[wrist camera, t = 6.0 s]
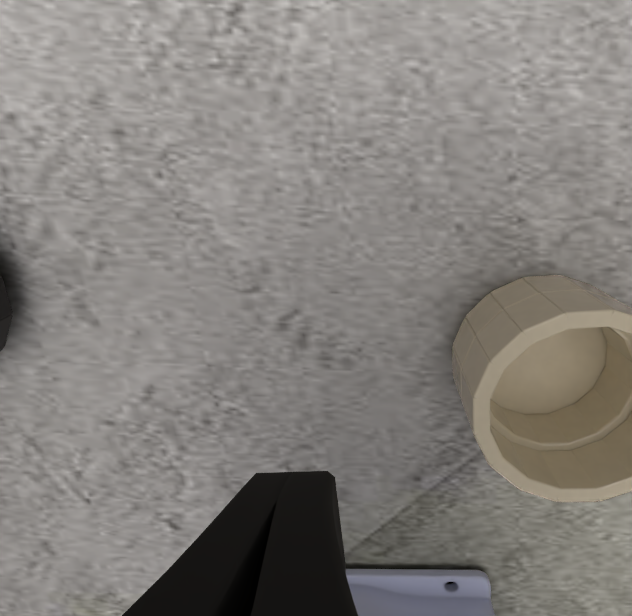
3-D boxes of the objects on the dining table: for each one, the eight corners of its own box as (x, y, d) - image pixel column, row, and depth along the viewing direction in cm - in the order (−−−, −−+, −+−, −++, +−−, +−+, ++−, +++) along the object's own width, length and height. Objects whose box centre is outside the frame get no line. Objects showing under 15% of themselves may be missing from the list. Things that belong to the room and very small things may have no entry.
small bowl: (626, 265, 15) (715, 303, 11) (614, 420, 17) (688, 501, 13) (447, 277, 16) (471, 318, 12) (451, 425, 18) (473, 503, 14)
